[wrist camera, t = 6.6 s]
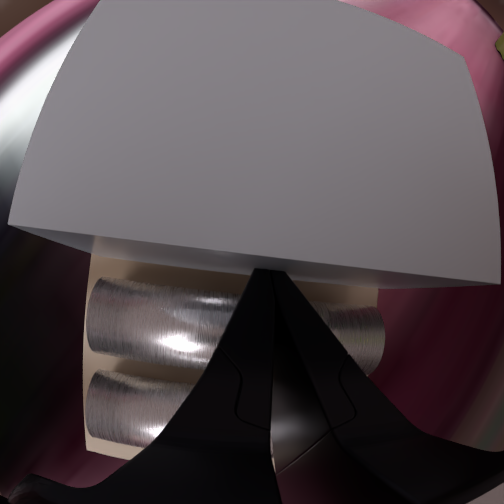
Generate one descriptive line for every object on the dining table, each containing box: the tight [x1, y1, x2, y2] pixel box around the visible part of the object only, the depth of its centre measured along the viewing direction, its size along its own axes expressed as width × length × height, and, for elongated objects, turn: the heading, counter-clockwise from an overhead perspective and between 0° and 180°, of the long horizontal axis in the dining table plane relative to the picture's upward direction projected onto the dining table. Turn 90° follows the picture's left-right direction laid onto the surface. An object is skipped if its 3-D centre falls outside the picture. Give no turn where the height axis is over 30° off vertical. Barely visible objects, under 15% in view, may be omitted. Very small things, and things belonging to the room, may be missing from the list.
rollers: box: [85, 261, 385, 458], centre depth 14 cm, size 17×13×4 cm
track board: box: [83, 254, 378, 470], centre depth 17 cm, size 21×16×1 cm
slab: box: [8, 0, 501, 289], centre depth 9 cm, size 8×12×6 cm, turn 84°
